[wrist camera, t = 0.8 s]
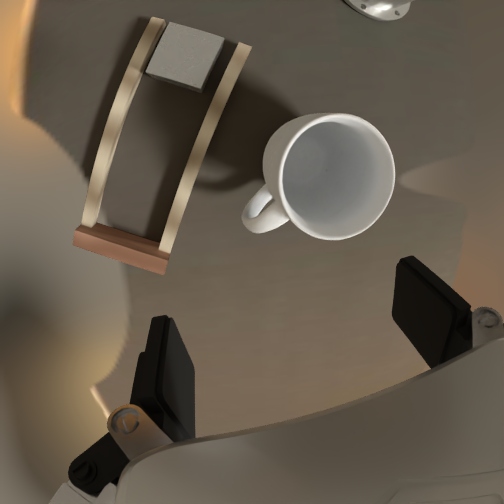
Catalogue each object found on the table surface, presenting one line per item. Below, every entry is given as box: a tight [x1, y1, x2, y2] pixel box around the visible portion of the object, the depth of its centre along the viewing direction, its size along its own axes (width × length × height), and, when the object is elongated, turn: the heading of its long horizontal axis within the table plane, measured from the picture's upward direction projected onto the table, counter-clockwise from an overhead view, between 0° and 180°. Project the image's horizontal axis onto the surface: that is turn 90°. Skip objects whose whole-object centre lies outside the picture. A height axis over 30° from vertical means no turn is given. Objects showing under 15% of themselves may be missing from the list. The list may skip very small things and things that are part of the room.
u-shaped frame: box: [73, 17, 252, 275], centre depth 30 cm, size 28×12×4 cm, turn 157°
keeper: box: [146, 22, 224, 93], centre depth 26 cm, size 6×6×5 cm
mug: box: [242, 113, 395, 240], centre depth 29 cm, size 15×11×13 cm
